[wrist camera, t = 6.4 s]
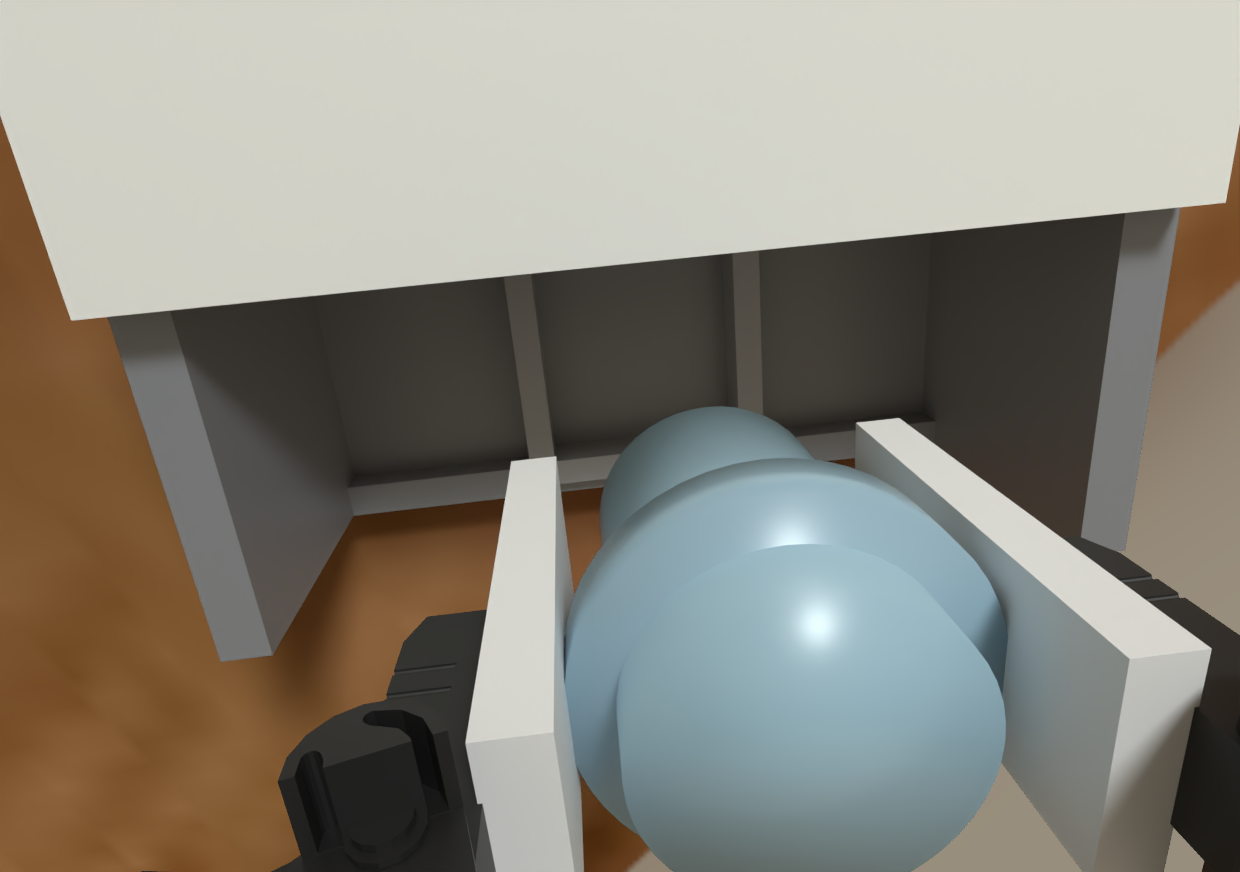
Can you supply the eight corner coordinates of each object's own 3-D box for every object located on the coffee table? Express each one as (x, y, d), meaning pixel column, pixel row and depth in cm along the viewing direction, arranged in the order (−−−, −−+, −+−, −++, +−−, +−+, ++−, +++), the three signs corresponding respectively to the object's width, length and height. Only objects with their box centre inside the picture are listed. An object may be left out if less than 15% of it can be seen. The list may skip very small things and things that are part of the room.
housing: (333, 495, 26) (220, 661, 18) (207, -25, 21) (-52, -166, 12) (940, 425, 27) (1124, 550, 19) (971, -88, 22) (1255, -262, 13)
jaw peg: (580, 651, 14) (589, 969, 9) (549, 387, 12) (532, 566, 7) (851, 622, 14) (1036, 915, 9) (858, 357, 13) (1094, 508, 7)
